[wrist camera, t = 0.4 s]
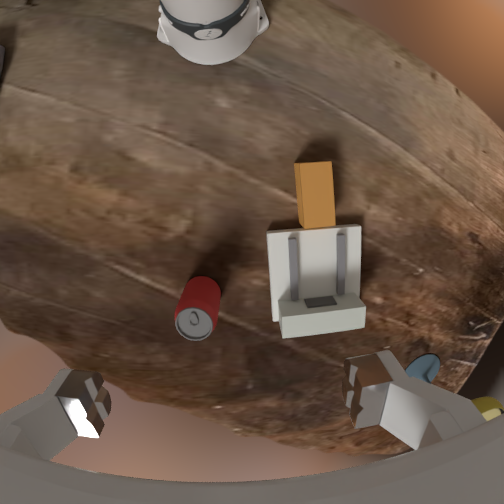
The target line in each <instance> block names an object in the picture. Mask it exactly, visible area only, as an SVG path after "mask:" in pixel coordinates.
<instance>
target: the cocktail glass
mask: <svg viewBox="0 0 504 504" xmlns="http://www.w3.org/2000/svg"><path fill="white" fill-rule="evenodd" d="M439 367H440V361H439V359H438V357H437V356H435V355H433V354H427V355H423V356H421V357H419V358H417V359H416V360H414V361H413V362H412V363H411V364H410V365H409V366H408V367H407V368H406V370H405V372H406V374H407V375H408V376H409V377H415V378H418V379H420V380H422V381H425V382H427V383H430V384H431V381H432V380H433V379H434V377H435V376H436V374H437V373H438V370H439ZM471 401H472V403H473V404H474V405H475V406H476V408H477V409H478V410H479V412H480V413H481V414H482V415H483V417H484V418H485V419H486V421H489V420H491V419H493V418H495V417H497V416H499V415H501V414H503V413H504V408H503V406H502V405H501V403H500V402H499V401H497V400H496V399H494V398H492V397H481V398H477V399H474V400H471Z"/></svg>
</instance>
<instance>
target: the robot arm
mask: <svg viewBox="0 0 504 504" xmlns="http://www.w3.org/2000/svg"><path fill="white" fill-rule="evenodd" d="M159 12H162V13H161V17H160V18H159V28H158V32H157V37H158V39H159V41H161V42H163V43H165V44H168V45H170V46H172V47H173V48H174V49H175V50H176V51H177V52H178V53H179V54H180V55H181V56H183V57H184V58H186V59H187V60H189V61H192V62H195V63H198V64H205V65H213V64H220V63H224V62H227V61H230V60H232V59H234V58H236V57H238V56H239V55H241V54H242V53H243V52H244V51H245V50H246V49H247V48H248V47H249V46H250V44H251V43H252V41H253V40H254V39H255V37H256V36H258V35H259V34H261V33H263V32H264V31H266V30H267V29H268V27H269V21H268V18H267V15H266V13H265V10H264V8H263V5H262V2H261V0H160V6H159ZM259 17H260V18H262V20H259ZM344 371H345V373H346V376H345V377H344V378H343V379H342V394H343V399H344V402H345V405H346V406H347V407H349V408H350V414H349V415H350V418H351V420H352V423H353V425H354V428H355V429H357V428H362V427H367V426H372V425H377V424H380V426H382V427H383V428H385V429H386V430H388V431H389V432H390V433H392V434H393V435H395V436H396V437H397V438H399V439H400V440H402V441H403V442H405V443H406V444H408V445H409V446H410V447H412V448H414V449H415V450H414V451H411V452H408V453H405V454H402V455H399V456H395V457H392V458H388V459H384V460H381V461H377V462H373V463H369V464H365V465H361V466H357V467H352V468H347V469H342V470H337V471H332V472H326V473H320V474H314V475H307V476H300V477H293V478H284V479H274V480H262V481H247V482H177V481H164V480H152V479H142V478H133V477H125V476H118V475H112V474H106V473H101V472H95V471H90V470H85V469H80V468H76V467H71V466H67V465H63V464H59V463H55V462H51V461H50V460H51V459H52V458H53V457H54V456H55V455H57V454H58V453H59V452H60V451H61V450H63V449H64V448H65V447H66V446H68V445H69V444H70V443H71V442H72V441H74V440H75V439H76V438H77V437H78V435H81V436H89V437H99V436H100V434H101V432H102V429H103V427H104V422H103V419H105V418H106V417H108V415H109V413H110V411H111V399H110V395H109V392H108V391H107V390H106V389H105V388H104V387H103V386H102V385H103V382H104V380H103V378H102V376H101V374H100V373H99V372H97V371H85V370H73V369H61V370H60V371H59V372H58V374H57V375H56V376H55V378H54V379H53V380H52V382H51V383H50V385H49V386H48V387H47V389H46V390H45V391H44V393H43V394H38V395H36V396H34V397H33V398H31V399H29V400H27V401H25V402H23V403H21V404H19V405H17V406H15V407H13V408H11V409H10V410H8V411H6V412H4V413H2V414H0V504H504V413H503V414H501V415H499V416H497V417H495V418H493V419H491V420H489V421H486V419H485V418H484V417H483V415H482V414H481V413H480V412H479V410H478V409H477V408H476V406H475V405H474V404H473V403H472V401H471V400H469V399H467V398H464V397H462V396H459V395H457V394H454V393H452V392H449V391H447V390H444V389H442V388H439V387H437V386H435V385H432V384H430V383H427V382H425V381H422V380H420V379H418V378H415V377H409V376H408V375H407V374H406V372H405V371H404V369H403V368H402V366H401V365H400V364H399V362H398V361H397V359H396V358H395V357H394V355H393V354H392V353H391V351H389V350H385V351H381V352H376V353H374V354H369V355H363V356H357V357H352V358H346V359H345V362H344Z"/></svg>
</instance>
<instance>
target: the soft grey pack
mask: <svg viewBox="0 0 504 504" xmlns="http://www.w3.org/2000/svg"><path fill="white" fill-rule="evenodd" d="M4 54H5V47H3V46H2V45H0V77H1V72H2V68H3V61H4Z"/></svg>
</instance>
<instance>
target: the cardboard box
mask: <svg viewBox="0 0 504 504" xmlns="http://www.w3.org/2000/svg"><path fill="white" fill-rule="evenodd" d="M294 167H295V178H296V190H297V202H298V215H299V223H300V224H301V225H302V227H303V228H304V229H308V228H317V227H327V226H336V224H335V204H334V188H333V174H332V162H331V161H319V162H304V163H294Z"/></svg>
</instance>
